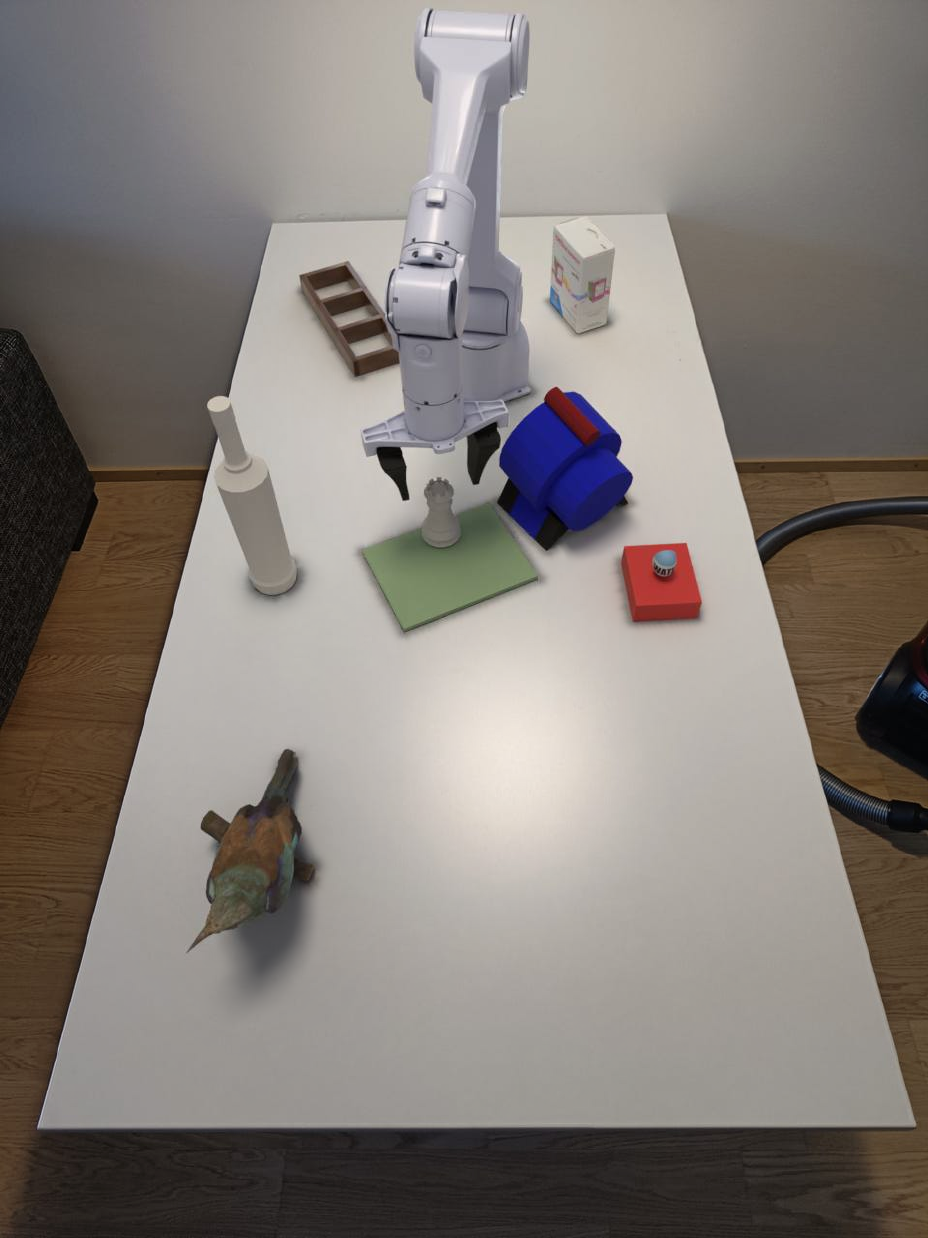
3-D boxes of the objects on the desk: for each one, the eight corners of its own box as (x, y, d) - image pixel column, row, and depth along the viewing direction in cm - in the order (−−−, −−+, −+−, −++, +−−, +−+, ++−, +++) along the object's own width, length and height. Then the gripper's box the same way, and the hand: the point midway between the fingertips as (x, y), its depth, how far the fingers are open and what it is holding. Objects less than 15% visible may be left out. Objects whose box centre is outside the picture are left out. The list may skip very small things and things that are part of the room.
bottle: (290, 600, 96) (236, 427, 75) (245, 592, 97) (179, 420, 76) (304, 563, 99) (256, 387, 78) (260, 556, 100) (201, 380, 79)
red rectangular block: (696, 617, 94) (709, 581, 88) (632, 621, 93) (641, 585, 88) (681, 558, 98) (692, 521, 93) (621, 562, 98) (628, 524, 93)
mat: (489, 505, 103) (489, 502, 103) (537, 579, 97) (538, 575, 96) (362, 553, 100) (361, 549, 99) (404, 632, 93) (403, 629, 93)
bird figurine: (231, 745, 85) (151, 767, 65) (333, 750, 85) (284, 775, 65) (221, 885, 84) (137, 952, 64) (324, 892, 84) (272, 960, 64)
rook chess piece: (456, 552, 98) (454, 504, 92) (417, 546, 99) (412, 497, 93) (465, 523, 101) (463, 473, 94) (427, 517, 102) (423, 467, 95)
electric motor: (572, 453, 108) (583, 353, 95) (640, 513, 102) (662, 415, 90) (492, 498, 104) (493, 399, 92) (559, 563, 98) (570, 467, 86)
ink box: (546, 300, 125) (551, 222, 115) (577, 291, 126) (585, 212, 117) (576, 335, 121) (584, 256, 111) (607, 324, 122) (618, 246, 112)
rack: (350, 275, 130) (348, 260, 128) (407, 359, 118) (406, 344, 116) (301, 290, 128) (298, 274, 126) (355, 376, 117) (352, 361, 115)
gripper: (366, 429, 79) (380, 528, 90) (519, 396, 81) (515, 497, 92) (349, 379, 83) (366, 480, 94) (496, 349, 85) (495, 451, 96)
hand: (438, 486), depth 94 cm, fingers open, 7 cm apart
